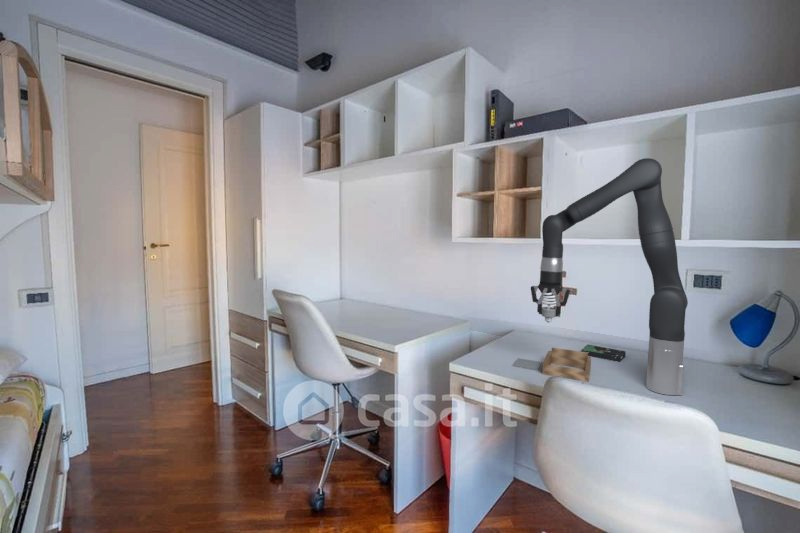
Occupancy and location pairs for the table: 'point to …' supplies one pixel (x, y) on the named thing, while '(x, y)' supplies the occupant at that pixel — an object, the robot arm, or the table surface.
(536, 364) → the slate mat
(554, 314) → the light bulb
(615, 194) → the robot arm
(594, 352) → the disk drive
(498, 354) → the table surface
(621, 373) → the table surface
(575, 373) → the wooden frame
